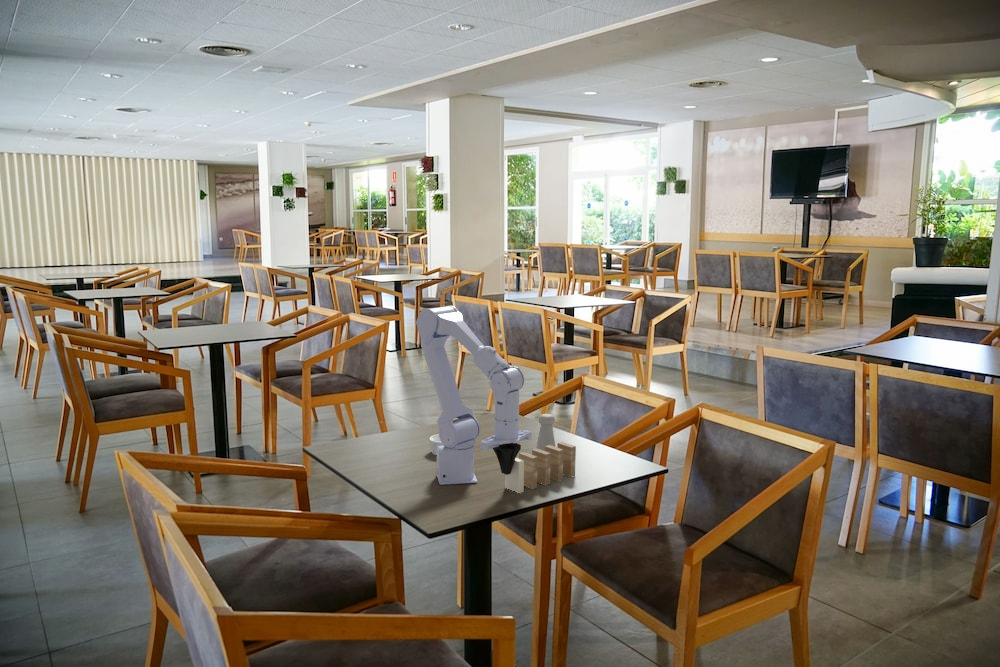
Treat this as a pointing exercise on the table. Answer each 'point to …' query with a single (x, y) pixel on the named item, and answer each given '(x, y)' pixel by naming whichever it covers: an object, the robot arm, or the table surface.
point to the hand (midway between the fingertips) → (506, 473)
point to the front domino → (516, 477)
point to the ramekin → (435, 443)
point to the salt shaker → (546, 431)
